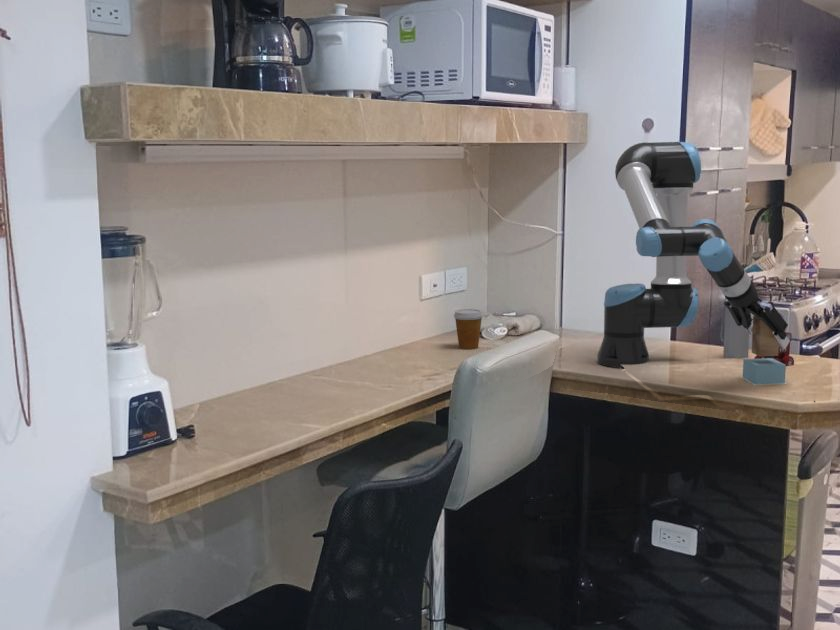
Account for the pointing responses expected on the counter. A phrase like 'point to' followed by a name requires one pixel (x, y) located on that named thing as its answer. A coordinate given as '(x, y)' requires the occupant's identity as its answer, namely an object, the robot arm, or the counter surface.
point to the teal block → (764, 371)
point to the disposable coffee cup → (468, 327)
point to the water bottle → (734, 337)
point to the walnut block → (763, 339)
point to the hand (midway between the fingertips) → (773, 342)
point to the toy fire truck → (781, 354)
